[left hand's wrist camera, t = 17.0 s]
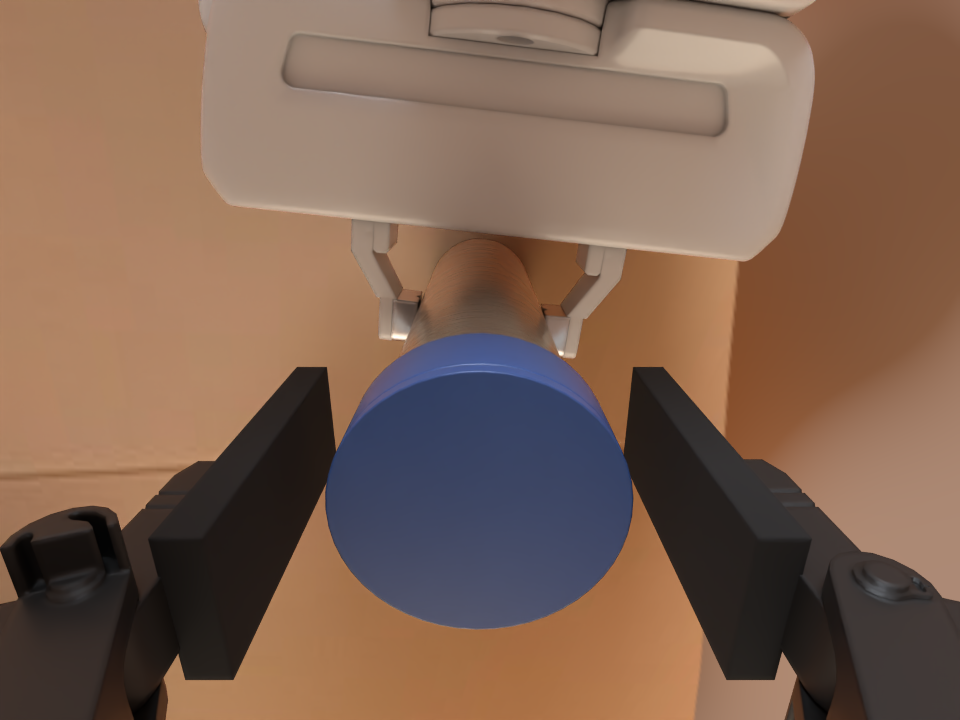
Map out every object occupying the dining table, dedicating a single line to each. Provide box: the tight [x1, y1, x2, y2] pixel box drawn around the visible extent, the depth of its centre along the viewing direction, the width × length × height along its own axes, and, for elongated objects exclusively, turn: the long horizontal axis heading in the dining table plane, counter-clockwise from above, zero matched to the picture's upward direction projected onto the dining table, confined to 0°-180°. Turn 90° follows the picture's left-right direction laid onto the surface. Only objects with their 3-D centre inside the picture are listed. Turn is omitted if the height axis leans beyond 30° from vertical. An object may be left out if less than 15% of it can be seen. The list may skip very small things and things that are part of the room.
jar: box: [399, 239, 561, 359], centre depth 19 cm, size 5×5×18 cm
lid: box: [325, 333, 633, 629], centre depth 11 cm, size 6×6×2 cm
